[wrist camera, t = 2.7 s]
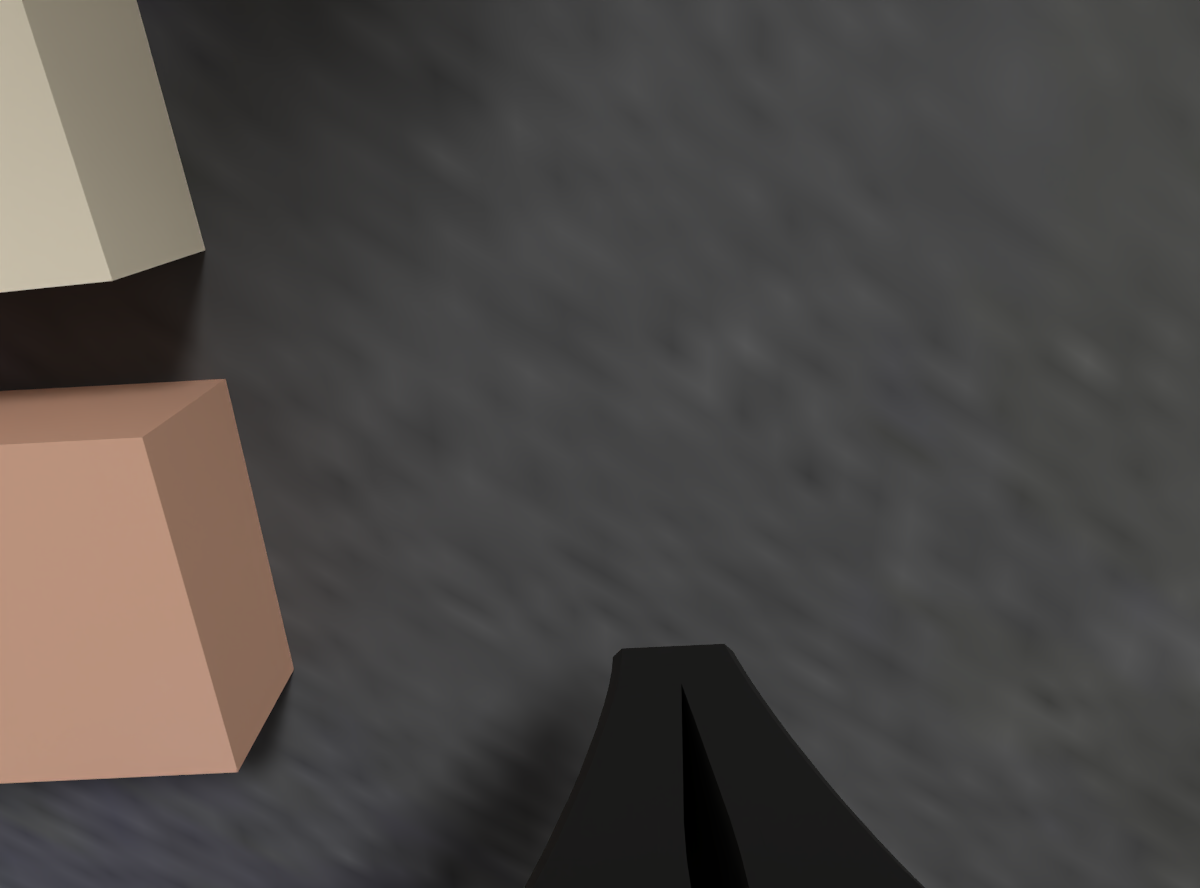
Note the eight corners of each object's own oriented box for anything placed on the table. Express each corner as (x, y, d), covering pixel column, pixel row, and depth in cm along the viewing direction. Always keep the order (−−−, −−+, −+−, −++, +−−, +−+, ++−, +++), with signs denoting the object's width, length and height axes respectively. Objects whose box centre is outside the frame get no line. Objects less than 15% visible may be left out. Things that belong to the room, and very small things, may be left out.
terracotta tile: (299, 660, 16) (237, 772, 13) (3, 674, 16) (-119, 789, 13) (232, 374, 14) (141, 437, 11) (-111, 392, 14) (-284, 459, 11)
